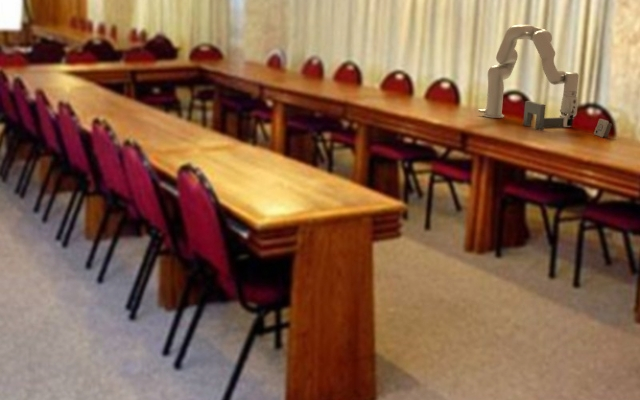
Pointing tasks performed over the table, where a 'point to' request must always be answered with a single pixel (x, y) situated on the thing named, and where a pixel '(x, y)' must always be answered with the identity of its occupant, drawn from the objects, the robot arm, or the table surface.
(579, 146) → the table surface
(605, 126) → the electrical switch
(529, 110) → the grey arch block
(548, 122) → the plug
